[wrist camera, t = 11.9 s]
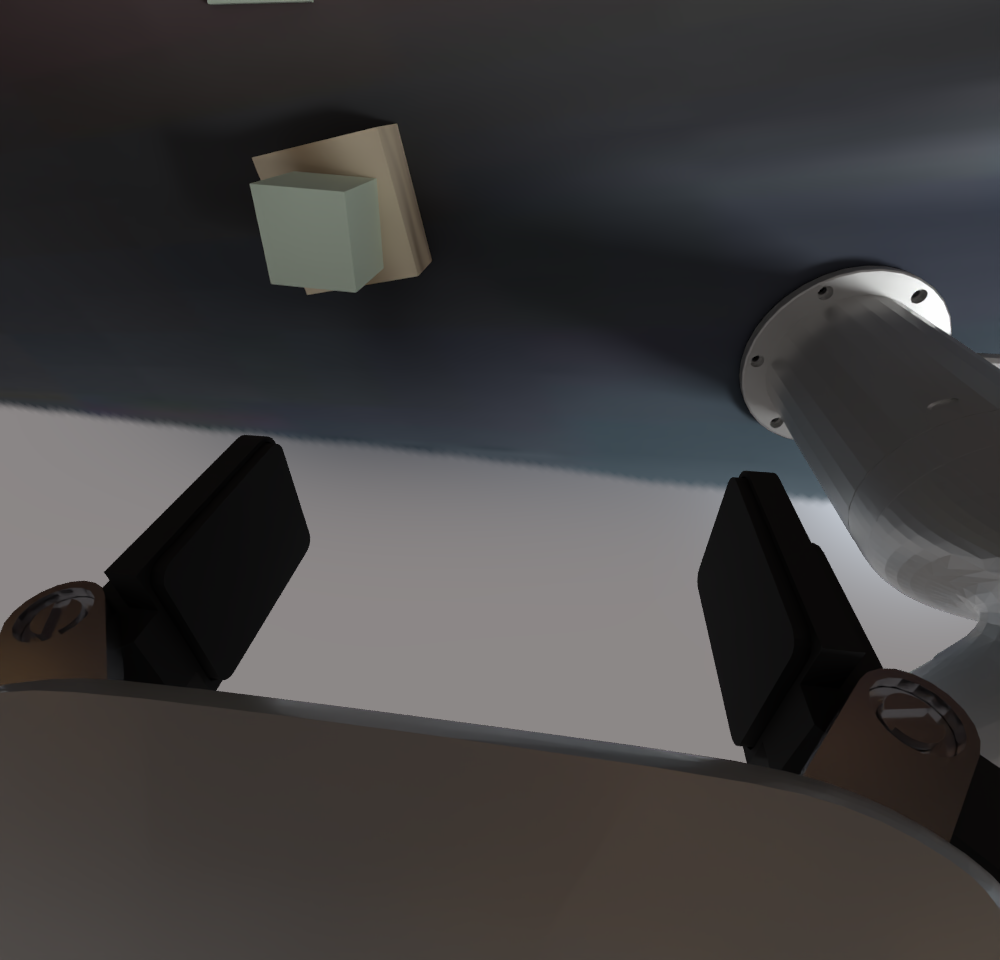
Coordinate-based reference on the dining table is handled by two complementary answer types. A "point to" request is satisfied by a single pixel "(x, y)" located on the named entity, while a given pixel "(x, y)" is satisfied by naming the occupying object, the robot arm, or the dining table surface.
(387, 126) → the tan square block
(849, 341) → the robot arm
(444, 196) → the dining table surface
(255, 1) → the sage swatch
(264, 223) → the sage cube
